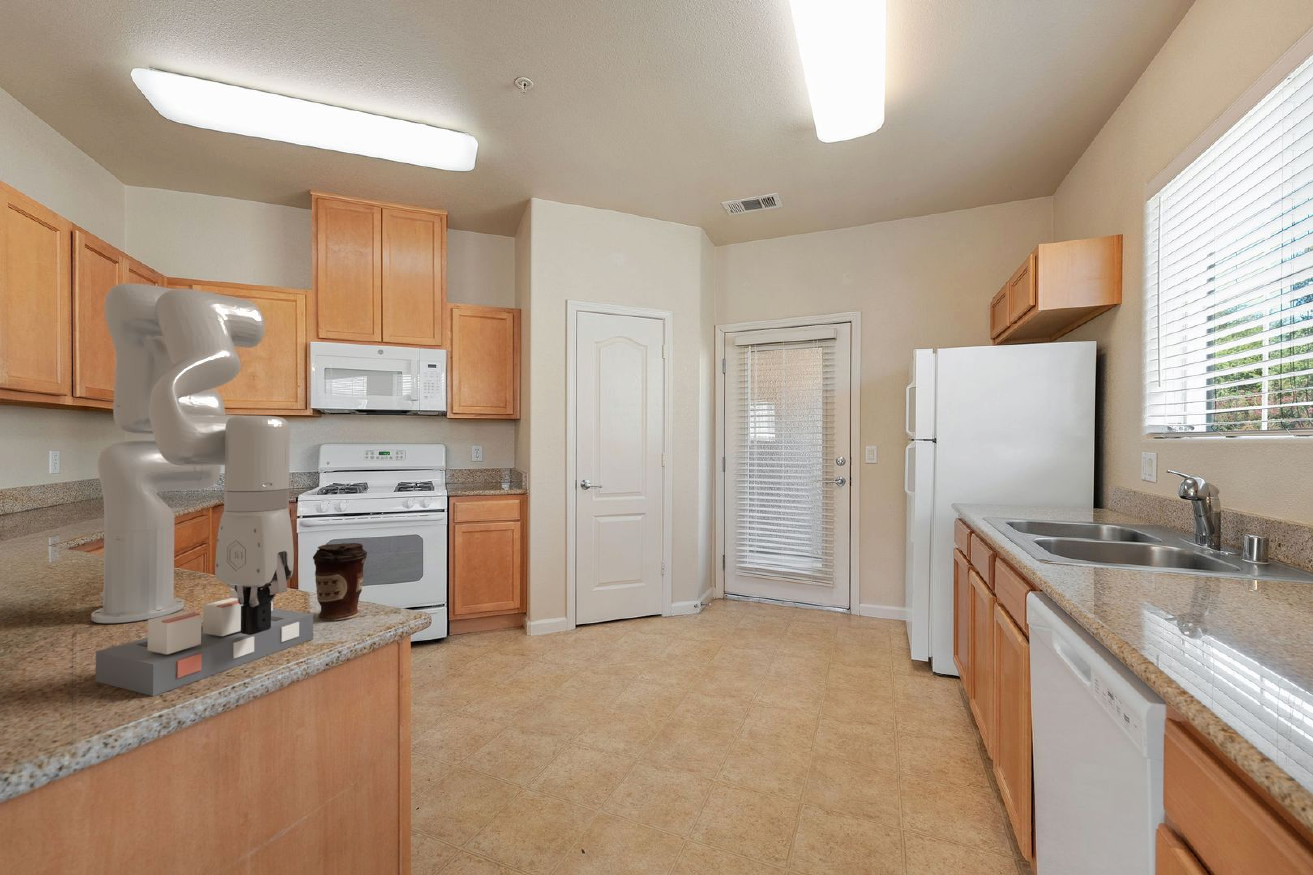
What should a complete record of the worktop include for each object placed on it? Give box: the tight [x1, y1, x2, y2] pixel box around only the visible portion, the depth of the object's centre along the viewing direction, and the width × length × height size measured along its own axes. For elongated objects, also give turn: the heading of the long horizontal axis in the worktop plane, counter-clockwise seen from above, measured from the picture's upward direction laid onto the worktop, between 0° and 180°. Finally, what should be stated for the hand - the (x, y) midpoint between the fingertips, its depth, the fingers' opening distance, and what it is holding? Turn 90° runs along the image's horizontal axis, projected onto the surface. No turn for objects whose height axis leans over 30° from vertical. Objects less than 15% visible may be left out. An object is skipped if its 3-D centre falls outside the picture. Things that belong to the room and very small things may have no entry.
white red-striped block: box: [202, 597, 243, 636], centre depth 83 cm, size 4×4×4 cm
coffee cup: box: [312, 542, 368, 621], centre depth 103 cm, size 9×8×13 cm
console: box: [95, 607, 314, 697], centre depth 84 cm, size 12×22×4 cm, turn 160°
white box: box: [147, 610, 202, 654], centre depth 76 cm, size 4×4×4 cm
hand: (256, 631), depth 81 cm, fingers closed
